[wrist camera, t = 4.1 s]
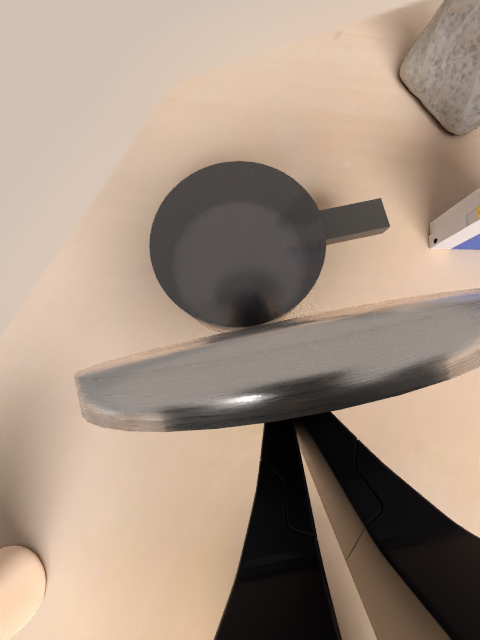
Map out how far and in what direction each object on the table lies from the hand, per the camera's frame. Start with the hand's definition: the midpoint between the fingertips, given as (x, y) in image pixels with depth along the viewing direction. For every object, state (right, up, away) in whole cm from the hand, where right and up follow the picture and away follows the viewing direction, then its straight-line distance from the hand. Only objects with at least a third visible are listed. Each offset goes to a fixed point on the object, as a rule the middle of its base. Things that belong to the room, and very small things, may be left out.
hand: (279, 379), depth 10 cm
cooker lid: (-1, +2, 0) cm, 2 cm away
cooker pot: (+1, +8, +14) cm, 16 cm away
